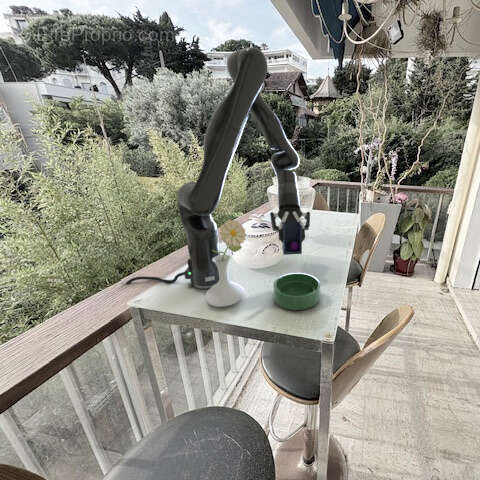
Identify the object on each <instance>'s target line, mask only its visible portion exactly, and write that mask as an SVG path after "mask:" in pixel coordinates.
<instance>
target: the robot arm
mask: <svg viewBox="0 0 480 480" xmlns="http://www.w3.org/2000/svg"><path fill="white" fill-rule="evenodd" d="M226 68H227V72H228V75H229V77H230V79H231V81H232V82H233V84H232V87H231V89H230V90H229V92H228V93H227V94H226V96H225V97H224V99H222V101H221V102H220V103H219V105H218V106H217V107H216V109H215V111H214V112H213V114H212V116H211V117H210V119H209V122H208V125H207V128H206V131H205V133H204V138H203V161H202V166H201V170H200V172H199V175H198V177H197V179H196V181H190V182H188V181H187V182H185V183H183V184H182V185H180V187H179V189H178V190H177V196H176V198H177V207H178V212H179V218H180V221H181V222H180V223H181V226H182V228H183V230H184V232H185V239H186V244H187V250H188V259H187V268H186V269H185V270H184V271H183V272H180V273H178V274H176V275H175V276H174V278H173V279H170V280H169V279H163V278H161V277H158V276H135V277H132V278H130V279H128V280H127V281H126V282H125V285H130V284H131V283H133V282H135V281H140V280H151V281H158V282H160V283H167V284H173V283H175V282H177V280H178V278H180V277H183V276H184V279H185V280H190V286H191V287H195V288H196V289H201V290H209V289H210V288H211V287H213V286H214V285H215V284H217V283H218V282H219V271H218V268H217V265H216V264H215V263H214V262H213V261H212V259H213V258H214V257H216V256H219V255H221V253H218V252H213V251H212V250H214V251H220V252H221V250H220V240H219V231H218V226H217V223H216V222H215V221H214V219H213V217H212V214H213V213H214V212H215V211H216V210H217V208H218V206H219V203H220V200H221V196H222V192H223V188H224V184H225V180H226V177H227V173H228V171H229V168H230V165H231V163H232V160H233V158H234V155H235V152H236V150H237V148H238V146H239V143H240V140H241V137H242V134H243V132H244V128H245V125H246V123H247V120H248V118H249V116H250V113H251V114H252V115H253V116H254V119H255V120H256V122H257V124H258V126H259V128H260V130H261V132H262V135H263V137H264V139H265V141H266V144H267V146H268V147H269V149H271V150H280V151H279V152H276V153H274V154H272V156H271V158H270V163H271V166H272V168H273V171H274V173H275V176H276V181H277V205H278V212H270V213H269V218H270V223H271V224H270V225H271V228H272V231H273V232H277V234H278V235H277V236H278V241H279V242H280V243H282V242H283V230H282V228H283V227H282V222H284V224H285V221H286V222H296V221H297V224H298V225H299V221H300V222H301V224H302V243H303V242H304V241H305V239H306V231H308V230H309V229H310V226H311V223H310V222H311V212H310V211H307V212H303V211H302V209H301V202H300V193H299V188H298V182H297V181H298V180H297V175H296V173H295V172H294V171H293V170H294V169H297V168H298V167H299V165H300V157H299V154H298V153H297V151H296V150H295V149H294V147H293V146H292V144H291V143H290V141H289V140H288V138H287V136H286V134H285V131H284V129H283V126H282V124H281V121H280V120H279V118H278V116H277V115H276V113H275V112H274V111H273V110H272V108H271V107H270V106H269V105H268V102H266V101H265V99H264V97H263V95H262V94H261V92H260V91H261V89H262V86H263V85H264V83H265V80H266V78H267V74H268V61H267V58H266V56H265V54H264V53H263V51H262V50H260V49H259V48H257V47H245V48H242V49H238V50H234V51H232V52H231V53H230V54H229V55H228V57H227V60H226ZM281 150H282V151H281ZM302 217H303V220H305V223H303V221H302V220H301V218H302ZM277 218H279V220H280V223H279V225H277V222H276V220H277Z"/></svg>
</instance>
